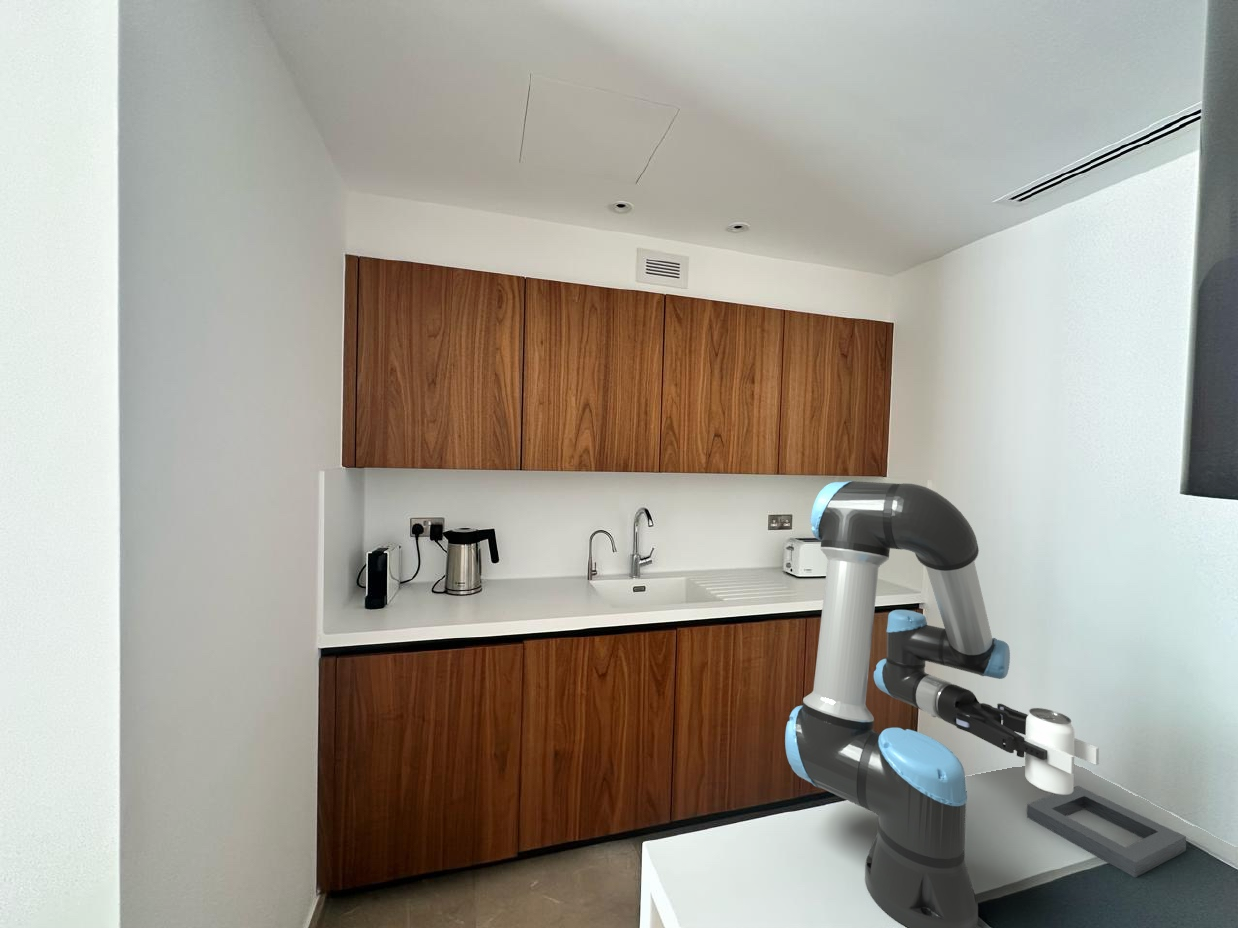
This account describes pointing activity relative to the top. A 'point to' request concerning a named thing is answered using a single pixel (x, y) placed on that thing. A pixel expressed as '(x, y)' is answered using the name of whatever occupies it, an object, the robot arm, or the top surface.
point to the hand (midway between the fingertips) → (1085, 760)
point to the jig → (1129, 859)
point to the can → (1055, 734)
